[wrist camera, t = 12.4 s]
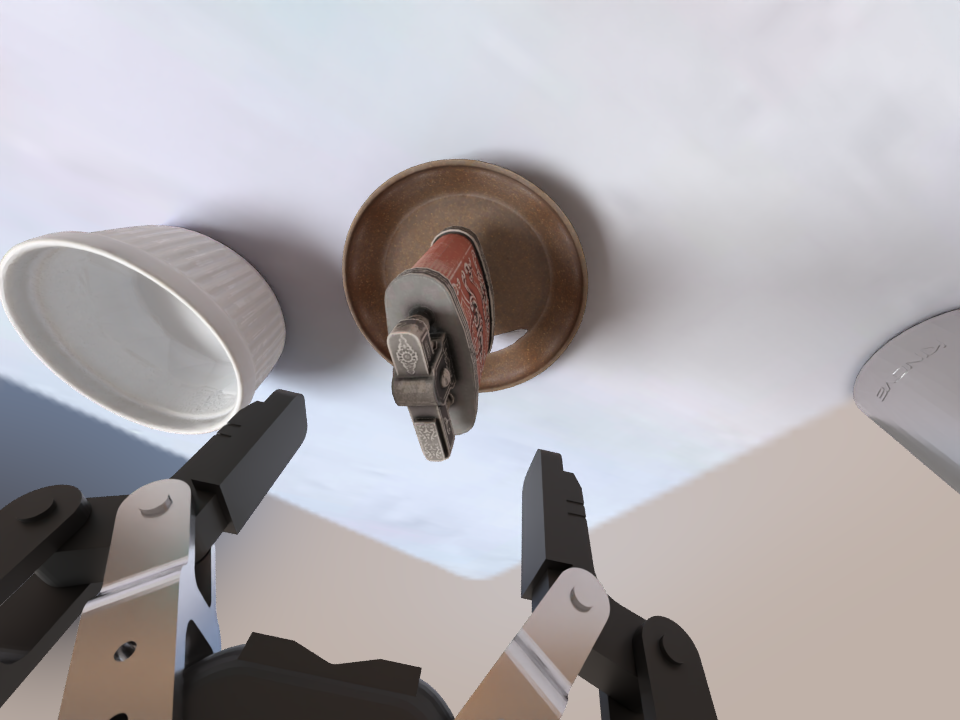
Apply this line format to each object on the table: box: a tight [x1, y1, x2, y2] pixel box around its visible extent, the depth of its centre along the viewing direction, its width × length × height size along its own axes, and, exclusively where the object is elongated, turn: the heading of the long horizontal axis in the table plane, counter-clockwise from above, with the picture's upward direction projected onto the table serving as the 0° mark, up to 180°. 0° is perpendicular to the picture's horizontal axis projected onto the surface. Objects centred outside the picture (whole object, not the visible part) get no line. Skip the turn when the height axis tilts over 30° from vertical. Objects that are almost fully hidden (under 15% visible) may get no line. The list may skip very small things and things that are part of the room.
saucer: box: [342, 159, 588, 393], centre depth 22 cm, size 15×15×3 cm
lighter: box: [384, 226, 495, 462], centre depth 17 cm, size 8×3×10 cm, turn 8°
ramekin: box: [0, 225, 286, 434], centre depth 23 cm, size 13×13×7 cm
